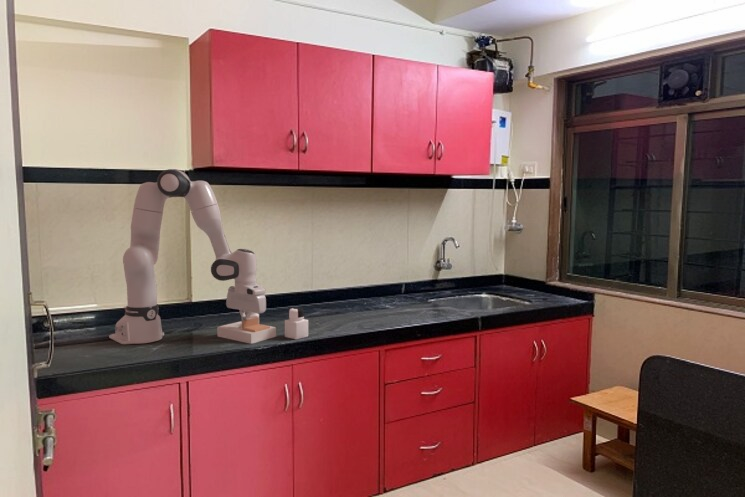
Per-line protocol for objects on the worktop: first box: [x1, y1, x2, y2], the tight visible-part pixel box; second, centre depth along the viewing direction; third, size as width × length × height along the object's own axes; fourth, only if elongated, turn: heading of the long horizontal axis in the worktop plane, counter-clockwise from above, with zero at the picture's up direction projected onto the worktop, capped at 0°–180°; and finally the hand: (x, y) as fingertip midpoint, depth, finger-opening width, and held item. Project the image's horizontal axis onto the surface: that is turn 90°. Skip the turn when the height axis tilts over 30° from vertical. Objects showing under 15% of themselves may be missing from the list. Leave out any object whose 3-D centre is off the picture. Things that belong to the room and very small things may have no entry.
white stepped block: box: [284, 307, 309, 340], centre depth 232 cm, size 7×7×12 cm
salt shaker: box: [250, 312, 260, 319], centre depth 246 cm, size 4×4×10 cm
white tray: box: [216, 320, 277, 344], centre depth 232 cm, size 20×14×4 cm
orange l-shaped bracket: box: [241, 316, 271, 332], centre depth 228 cm, size 8×8×4 cm
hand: (245, 321), depth 231 cm, fingers closed
